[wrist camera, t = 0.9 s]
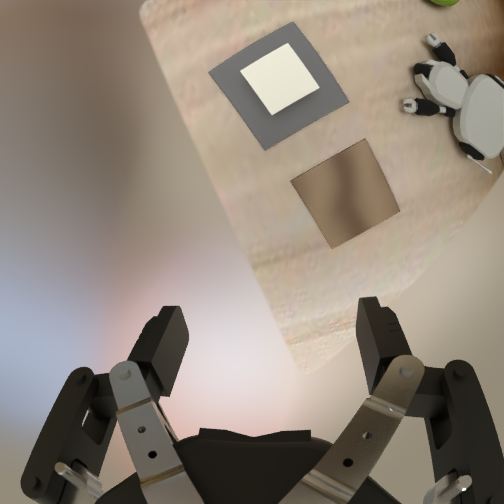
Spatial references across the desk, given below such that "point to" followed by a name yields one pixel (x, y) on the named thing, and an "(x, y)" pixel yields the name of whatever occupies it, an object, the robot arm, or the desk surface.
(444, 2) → the snail figurine
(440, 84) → the robot toy
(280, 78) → the white block
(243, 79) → the mat
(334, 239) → the walnut board
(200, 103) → the desk surface
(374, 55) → the desk surface
